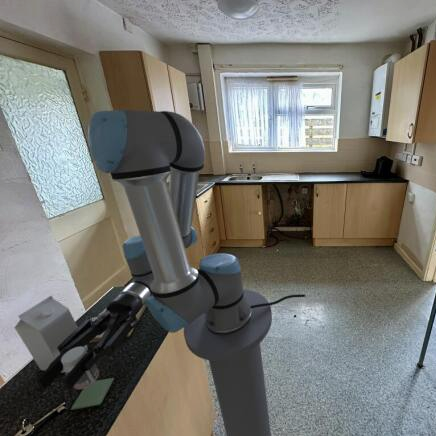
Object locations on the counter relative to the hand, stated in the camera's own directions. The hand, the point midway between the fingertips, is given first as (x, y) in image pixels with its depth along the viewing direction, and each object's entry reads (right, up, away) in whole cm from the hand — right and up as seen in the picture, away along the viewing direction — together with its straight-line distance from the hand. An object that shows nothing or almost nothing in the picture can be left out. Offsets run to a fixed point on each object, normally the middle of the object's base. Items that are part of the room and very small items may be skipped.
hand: (53, 384), depth 47 cm
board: (-9, 0, +30) cm, 32 cm away
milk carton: (-15, -6, +18) cm, 24 cm away
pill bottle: (0, -4, +7) cm, 9 cm away
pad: (+1, -9, +9) cm, 13 cm away
